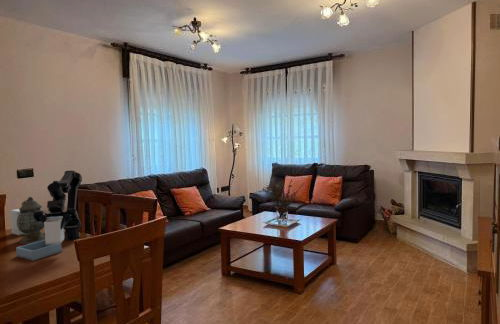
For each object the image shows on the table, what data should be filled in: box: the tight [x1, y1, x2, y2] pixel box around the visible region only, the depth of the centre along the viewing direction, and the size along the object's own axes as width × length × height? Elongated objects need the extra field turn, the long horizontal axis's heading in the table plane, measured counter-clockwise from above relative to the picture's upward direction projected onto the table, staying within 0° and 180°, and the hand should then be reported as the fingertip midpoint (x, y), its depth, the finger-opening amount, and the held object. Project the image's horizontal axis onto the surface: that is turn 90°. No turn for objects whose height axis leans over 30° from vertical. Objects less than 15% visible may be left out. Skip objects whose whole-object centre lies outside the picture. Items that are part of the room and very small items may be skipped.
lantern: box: [17, 196, 45, 244], centre depth 189 cm, size 14×14×25 cm
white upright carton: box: [43, 218, 65, 245], centre depth 160 cm, size 6×6×11 cm
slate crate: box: [15, 240, 63, 262], centre depth 164 cm, size 14×14×4 cm
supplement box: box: [10, 208, 25, 236], centre depth 205 cm, size 9×9×15 cm
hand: (53, 229), depth 159 cm, fingers closed on white upright carton, 6 cm apart
